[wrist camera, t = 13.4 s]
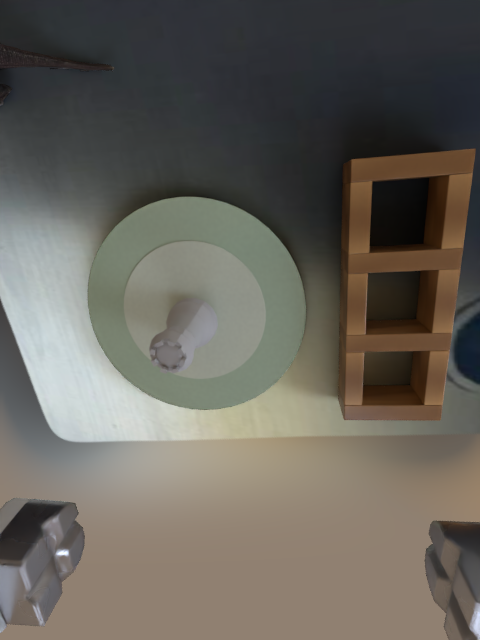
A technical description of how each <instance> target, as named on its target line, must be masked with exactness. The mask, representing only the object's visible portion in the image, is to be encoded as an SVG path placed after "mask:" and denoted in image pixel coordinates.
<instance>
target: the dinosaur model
mask: <svg viewBox="0 0 480 640" xmlns="http://www.w3.org/2000/svg"><path fill="white" fill-rule="evenodd" d="M14 67H60V68H50V69H62V68H63V69H69V68H71V69H85V70H82V71H88V70H107V71H109V70H112V72H113V69H114V67H112V66H110V65H106V64H91V63H82V62H75V61H71V60H67V59H62V58H55V57H51V56H47V55H43V54H38V53H33V52H29V51H24V50H20V49H17V48H14V47H10V46H5V45H2V44H0V69H4V68H14ZM80 71H81V70H80ZM11 90H12V87H9V86H7V85H4V84H0V106H1V105H3V100H4V99H5V98H6V96H7V95H8V94H9V93H10V91H11Z"/></svg>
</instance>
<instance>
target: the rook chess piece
mask: <svg viewBox="0 0 480 640" xmlns="http://www.w3.org/2000/svg"><path fill="white" fill-rule="evenodd" d="M166 324H167V329H165V330H164V331H163V332H161V333H159V334H156V336H155V337H154V338H153V339H152V340H151V343H150V347H149V350H150V356H151V358H152V360H151V363H152V365H153V366H154V367H155V366H156V365H157V366H158V367H159V368H161V370H160V372H162V373H165V374H166V373H167V372H172V373H173V374H174V373H176V372H180V371H183V370H185V369H187V368H188V366H189V365H190V364H191V363H192V360H193V357H194V350H195V348H199V347H201V346H203V345H206V344H207V343H208V342H209V341H210V340H211V339H212V337H213V336H214V335H215V333H216V330H217V327H218V323H217V316H216V314H215V312H214V310H213V308H212V307H211V306H210V305H208V304H207V303H206V302H205V301H202V300H200V299H197V298H185V299H183V300H181V301H179V302H177V303H176V304H175V305H174V307H173V308H172V309H171V311H170V312H169V314H168V318H167V321H166Z"/></svg>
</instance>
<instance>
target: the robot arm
mask: <svg viewBox="0 0 480 640" xmlns="http://www.w3.org/2000/svg"><path fill="white" fill-rule="evenodd" d="M77 515H78V510H77V507H76V504H75V503H71V502H62V501H50V500H37V499H22V498H13V499H11V500H10V501H8V502H6V503H5V504H4V506H3V507H2V508H1V509H0V633H1V632H2V631H3V630H4V629H5V628H6V627H7V625H6V624H13V625H14V624H15V625H30V626H44V625H45V623H46V621H47V620H48V617H49V616H50V614H51V613H52V611H53V609H54V607H55V605H56V603H57V602H58V600H59V598H60V596H61V594H62V581H64V580H65V579H66V578H67V577H69V576H70V575H71V574H72V573H73V572H74V570H75V569H76V567H77V565H78V563H79V561H80V559H81V556H82V552H83V549H84V539H85V536H84V531H83V527H81V526H80V525H79V524H78V523H77V522H76V521H75V518H76V517H77ZM429 536H430V538H431V540H432V543H433V544H432V545H430V546H429V547H428V548H427V549H426V554H425V568H426V576H427V580H428V583H429V588H430V591H431V593H432V596H433V599H434V601H435V602H436V603H437V604H438V605H439V606H440V607H441V609H442V610H444V612H445V613H446V618H445V623H444V629H445V631H446V634H447V636H448V639H449V640H480V523H479V522H455V521H454V522H453V521H433V522H432V523H431V524H430V529H429Z"/></svg>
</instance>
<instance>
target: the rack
mask: <svg viewBox="0 0 480 640" xmlns="http://www.w3.org/2000/svg"><path fill="white" fill-rule="evenodd" d="M474 158H475V149H465V150H453V151H442V152H430V153H419V154H407V155H395V156H384V157H372V158H361V159H352V160H350V161H348V162H346V163H345V164H343V185H342V231H341V281H340V327H339V337H340V338H339V378H338V385H339V386H338V400H339V404H340V407H341V411H342V415H343V418H344V420H441V413H442V405H443V397H444V390H445V382H446V374H447V367H448V359H449V350H450V345H451V337H452V330H453V322H454V314H455V307H456V299H457V291H458V283H459V276H460V268H461V260H462V253H463V244H464V236H465V228H466V221H467V213H468V205H469V197H470V190H471V182H472V172H473V166H474ZM419 178H429V188H428V199H427V209H426V220H425V230H424V241H423V243H424V244H407V245H389V246H371V247H369V244H370V222H371V201H372V182H380V181H393V180H406V179H419ZM400 271H421V272H420V283H419V293H418V304H417V314H416V319H404V320H369V321H366V308H367V286H368V273H378V272H400ZM380 351H413V359H412V369H411V380H410V385H363V372H364V352H380Z"/></svg>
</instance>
